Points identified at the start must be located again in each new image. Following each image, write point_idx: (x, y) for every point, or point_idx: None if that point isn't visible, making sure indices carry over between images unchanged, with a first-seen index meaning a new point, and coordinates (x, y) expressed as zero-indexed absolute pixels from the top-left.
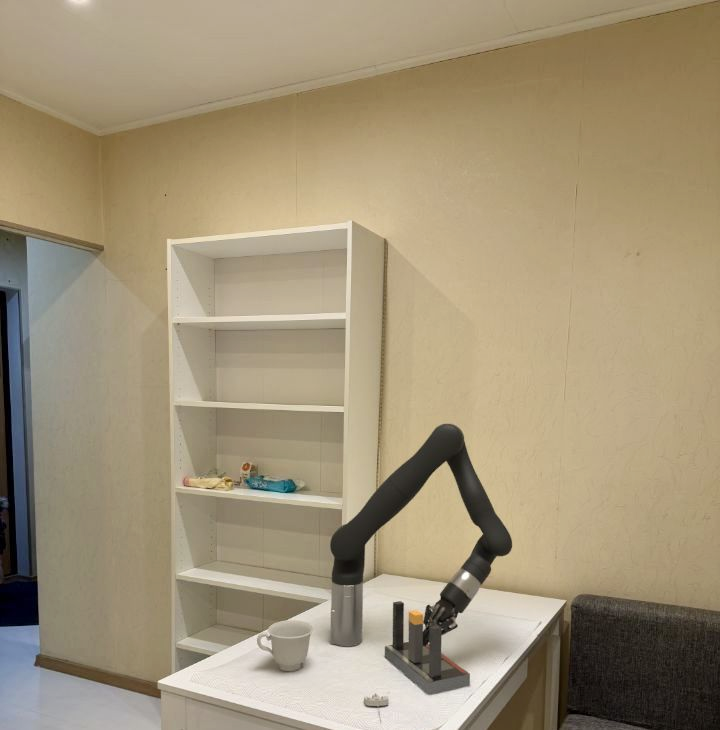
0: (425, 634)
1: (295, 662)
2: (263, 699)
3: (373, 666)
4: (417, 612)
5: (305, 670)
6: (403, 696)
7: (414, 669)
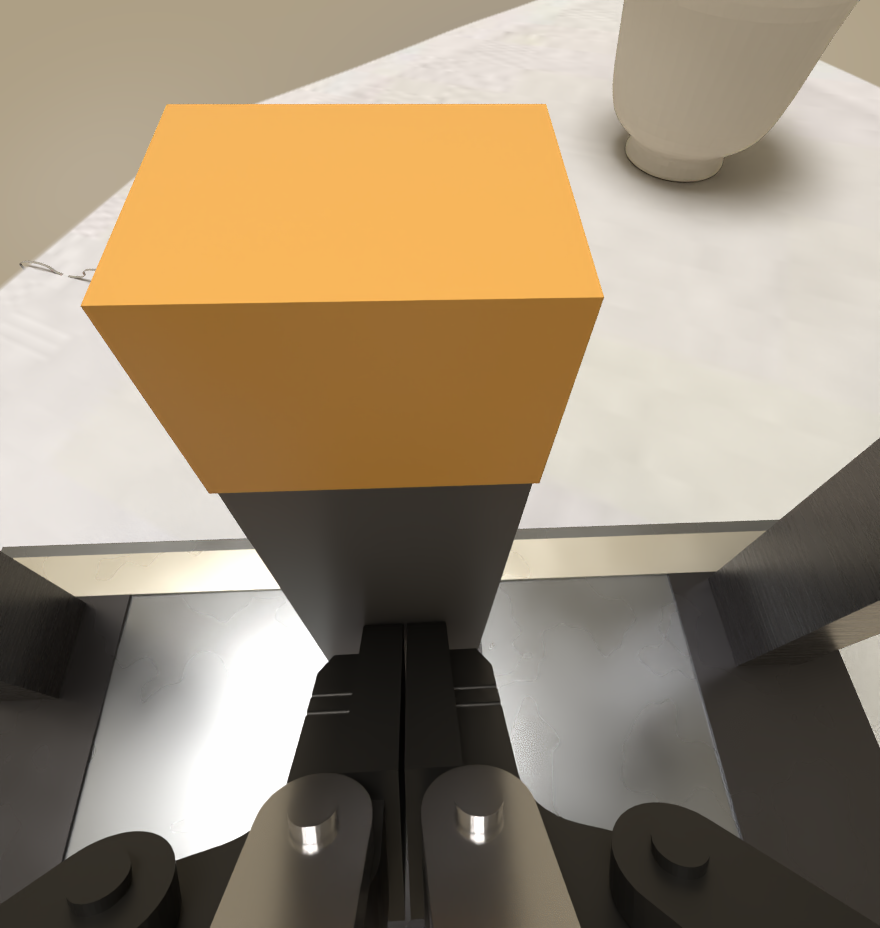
0: (353, 698)
1: (614, 104)
2: (433, 68)
3: (600, 438)
4: (356, 226)
5: (624, 185)
6: (161, 438)
7: None
